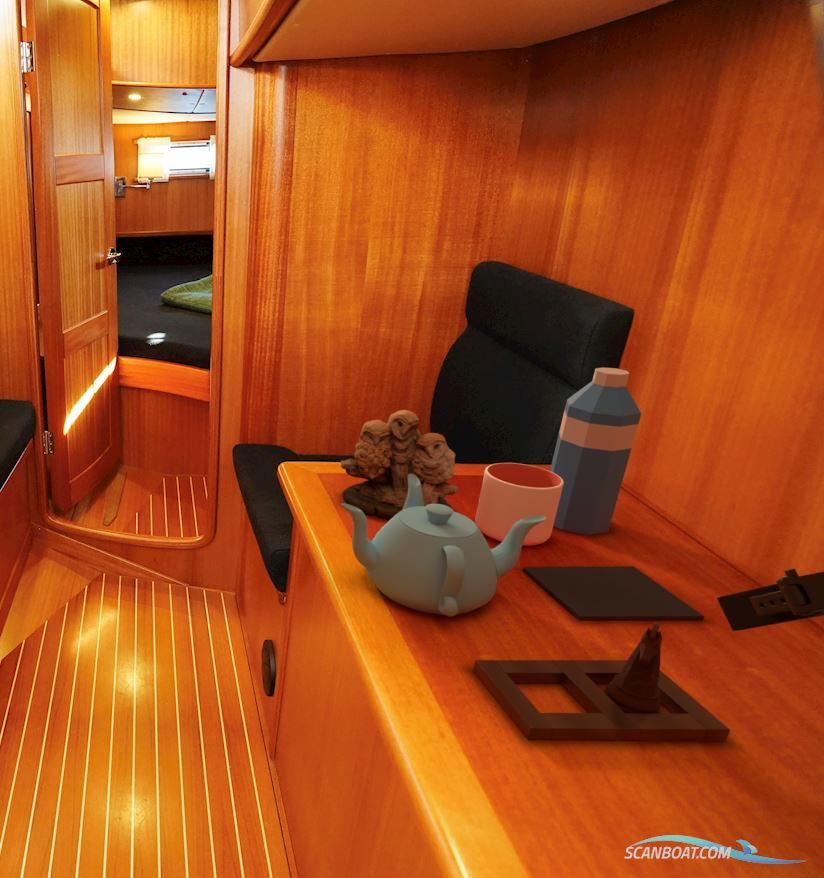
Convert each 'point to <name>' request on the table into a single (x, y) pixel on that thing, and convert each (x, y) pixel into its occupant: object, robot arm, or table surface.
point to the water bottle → (594, 451)
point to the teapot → (435, 555)
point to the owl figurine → (398, 465)
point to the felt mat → (611, 594)
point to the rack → (594, 704)
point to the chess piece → (639, 677)
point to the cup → (518, 500)
